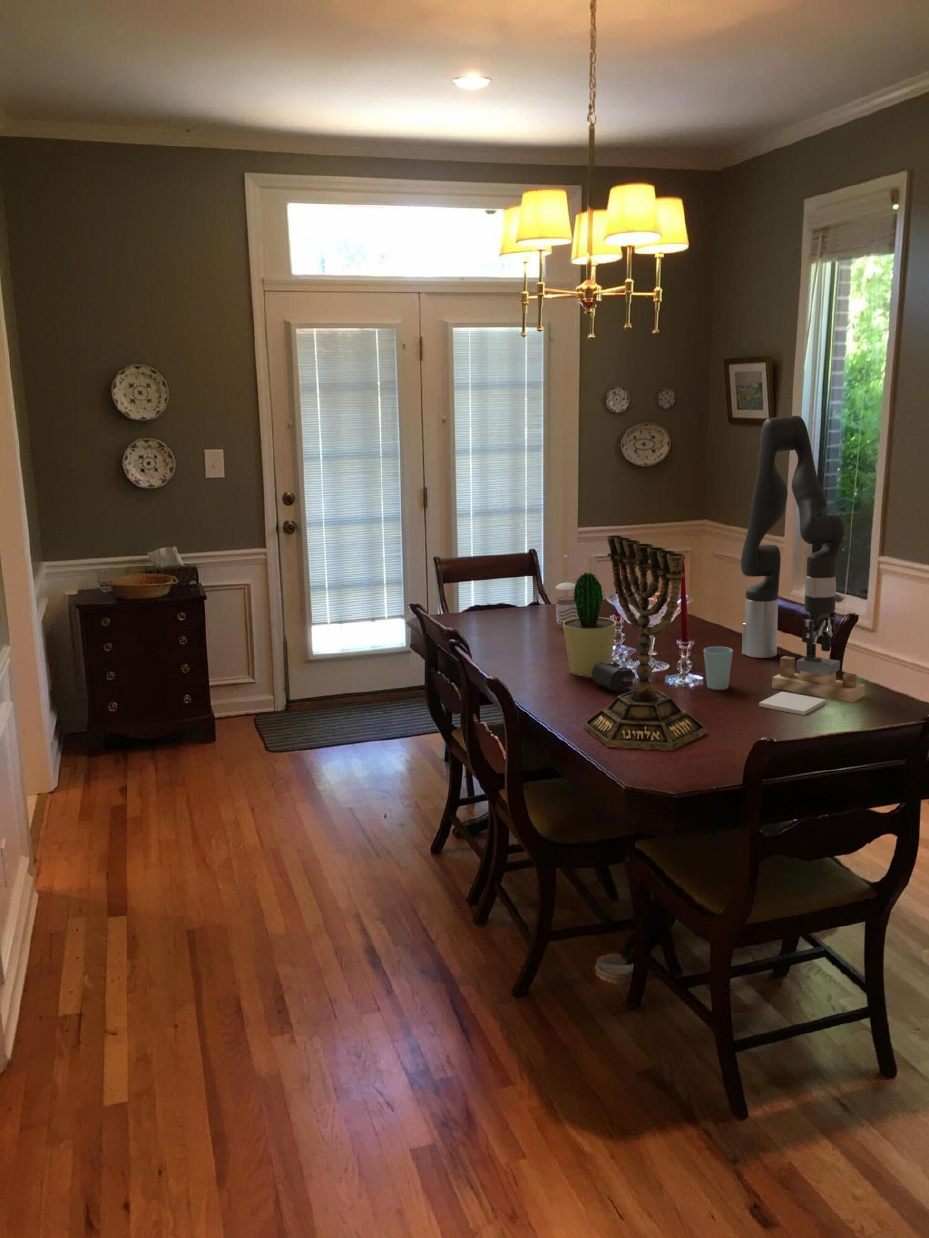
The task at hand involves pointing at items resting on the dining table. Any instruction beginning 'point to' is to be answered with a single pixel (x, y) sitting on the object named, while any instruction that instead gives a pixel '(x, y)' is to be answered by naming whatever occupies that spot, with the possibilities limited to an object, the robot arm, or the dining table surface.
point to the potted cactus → (588, 628)
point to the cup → (718, 667)
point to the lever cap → (818, 665)
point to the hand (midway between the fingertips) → (818, 654)
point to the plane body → (816, 683)
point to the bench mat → (792, 703)
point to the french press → (565, 601)
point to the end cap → (612, 677)
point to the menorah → (645, 654)
